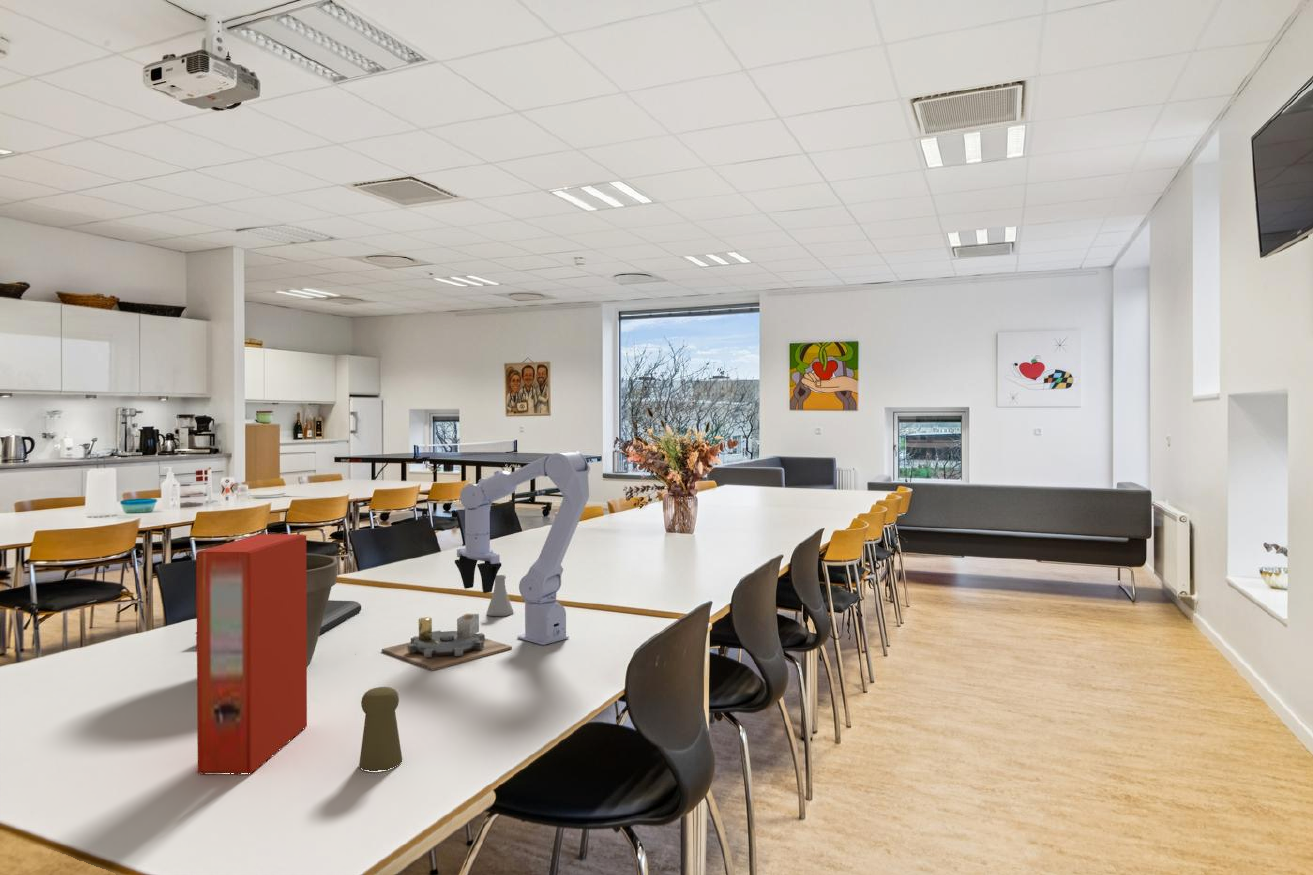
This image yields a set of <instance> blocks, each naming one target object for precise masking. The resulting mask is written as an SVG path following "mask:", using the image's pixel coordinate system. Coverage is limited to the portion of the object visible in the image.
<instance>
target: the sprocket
mask: <svg viewBox="0 0 1313 875" xmlns="http://www.w3.org/2000/svg"><path fill="white" fill-rule="evenodd" d="M485 638H486V635H485V633H483V632H481V633H480V632H478V633H476V634H474V635H473V636H471V637H457V630H448V631H447V630H446V631H441V630H435V631H433V618H432V617H425V616H424V617H420V618H418V636H416V635H414V636H413V637H411V638H410V642H411V644H408V652H409V653H415V652H417V653H419V654H423V655H424V657H429V658H432V657H434V656H447V655H454V656H461V655H463V653H465V652H469V651H472V650H474V649H475V650H481V649H482V648H484V642H485Z"/></svg>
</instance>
